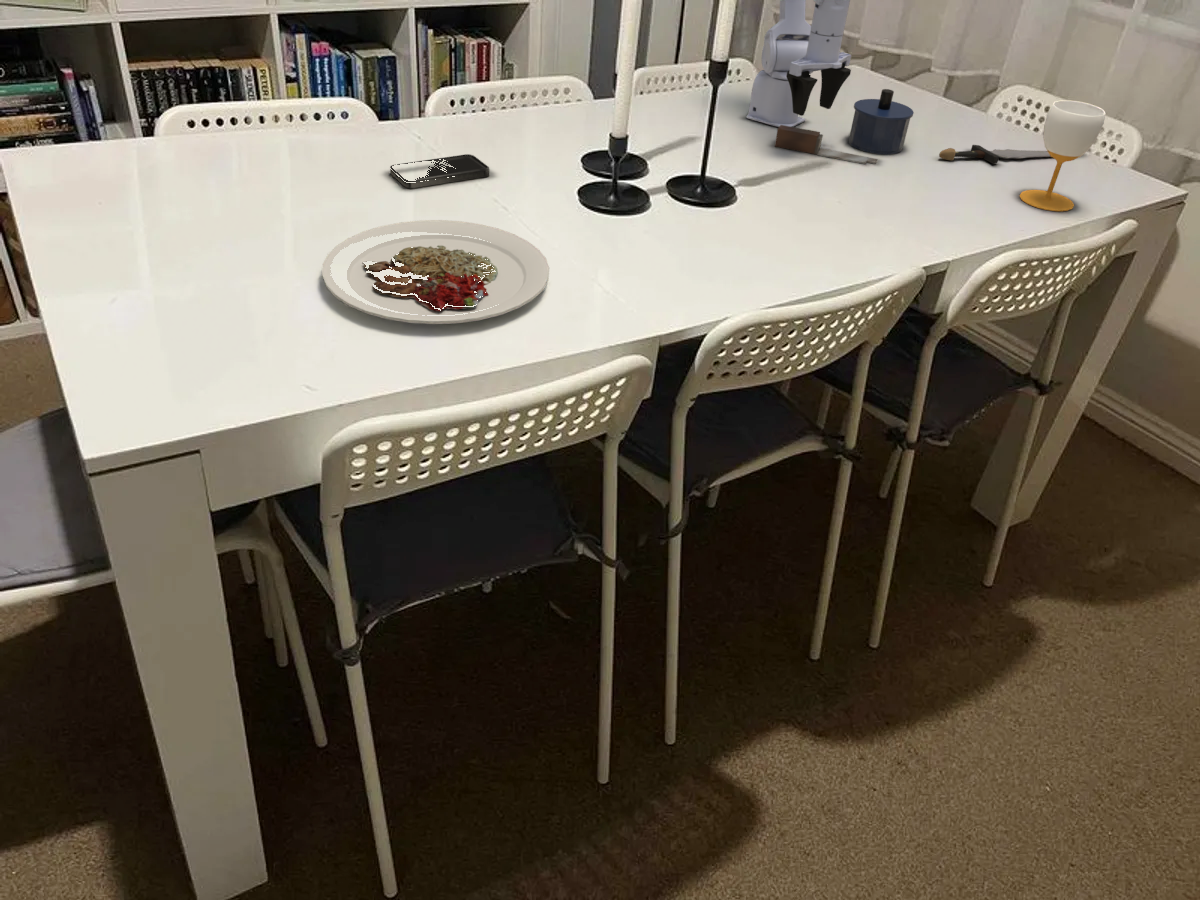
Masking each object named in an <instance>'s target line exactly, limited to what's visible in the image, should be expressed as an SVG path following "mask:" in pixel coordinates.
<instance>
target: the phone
mask: <svg viewBox="0 0 1200 900" xmlns="http://www.w3.org/2000/svg"><path fill="white" fill-rule="evenodd" d="M439 159H441V160H439ZM443 159H444V160H446V161H444V162H446V163H448V164H450V165H451V166H453V167H454V168H453V167H449V166H445V165H443V164H440V165H439V163H440V162H442V161H443ZM432 160H434V161H436V162H438V161H439V162H438V163H436V162H435V164H436V165H435V164H434V165H435V166H437V165H438V166H437V167H438V168H439V169H438V168H437V167H435V166H434V167H435V168H434V167H431V168H432V169H430V168H429V167H430V166H429V167H428V168H429V169H430V170H431V171H430V170H428V171H429V172H428V171H427V172H428V173H429V174H428V173H427V174H428V175H429V176H428V175H426V176H427V177H426V176H425V178H424V177H422V178H420V177H419V179H418V178H417V180H416V179H415V180H416V181H408V180H406V179H404V178H403V177H402V176H401V175H400V174H399V173H398V172H396V171H395V170H394V169H393V168H392V166H394V165H395V164H392V165H390V166H389V172H390V175H391V176H392V177H393V178H394V179H395V180H396V181H397V182H398V183H400V184H401V185H402V186H403V187H404V188H407V189H416V188H422V187H429V186H436V185H442V184H448V183H449V184H450V183H454V182H461V181H467V180H468V181H469V180H473V179H479V178H487V177H489V176H490V167H489V166H488V165H486V163H484V162H483V161H482V160H481V159H479V158H478V157H477V156H475V155H474V154H468V153H466V154H459V155H453V156H444V157H439V158H431V159H424V160H417V161H410V162H403V163H402V164H408V163H413V162H414V163H415V162H422V161H432ZM447 161H448V162H447ZM444 162H443V163H444ZM431 163H432V162H431ZM433 163H434V162H433ZM446 163H445V164H446ZM400 164H401V163H397V165H400ZM448 164H447V165H448ZM441 165H443V166H445V167H446V168H445V167H443V166H441ZM439 166H441V167H443V168H445V169H446V170H447V171H446V170H444V169H443V170H444V171H446V172H447V173H446V172H444V171H442V170H440V169H442V168H441V167H439ZM390 168H391V169H392V170H393V171H394V172H395V173H397V174H398V175H399V176H400V177H401V178H402V179H403V180H404V181H406V182H416V183H406V182H404V181H403V180H402V179H401V178H400V177H398V176H397V175H396V174H395V173H394V172H393V171H392V170H391V169H390ZM455 168H456V169H455ZM452 176H455V177H452ZM447 177H449V178H447ZM435 179H436V180H435ZM425 180H426V181H425ZM427 180H429V181H427ZM420 181H423V182H420Z"/></svg>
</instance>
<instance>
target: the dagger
mask: <svg viewBox="0 0 1200 900" xmlns="http://www.w3.org/2000/svg"><path fill="white" fill-rule="evenodd" d="M938 156H939V158H940V159H943V160H947V161H954V159H955V158H975V159H982V160H985V161H987V162H988V163H990V164H993V165H994V164H997V163H998V162H999V159H1027V158H1049V157H1050V158H1052V157H1051V156H1050V154H1049V153H1048V151H1047V150H1025V149H1024V150H1019V149H1010V148H1008V149H993V150H988V149H986V148H985V147H983V146H981V145H979V144H972V145H971V148H970V150H962V151H957V150H956V149H955V148H952V147H949V148H946V149H942V150H941V151H940V152H939V154H938Z"/></svg>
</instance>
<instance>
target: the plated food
mask: <svg viewBox="0 0 1200 900" xmlns="http://www.w3.org/2000/svg"><path fill="white" fill-rule="evenodd" d="M411 231H412V232H427V233H439V234H441V233H443V234H446V233H447V234H452V235H420V236H411V237H404V238H399V239H394V240H391V241H387V242H384V243H381V244H378V245H376V246H374V247H372V248H369V249H367V250H366V251H364V252H363V253H361V254H360V255H358V256H357V257H356V258H355V259H354V260H353V261H352V262H351V264H350V266H349V268H348V270H347V280H348V282H349V284H350V286H351V288H352V289H353V290H354V291H355V292H356V293H357V294H358V295H359V296H361V297H362V298H364V299H365V300H367V301H369V302H371V303H373V304H376V305H378V306H380V307H383V308H387V309H390V310H394V311H398V312H404V313H410V314H418V315H410V314H402V313H395V312H391V311H388V310H383V309H380V308H379V309H378V308H376V307H373V306H370V305H368V304H367V305H366V304H365V303H363V302H362V301H359V300H357V299H356V298H354V297H352V296H351V295H350V296H349V295H348V294H346V293H345V291H343V289H342V290H341V288H339V286H338V285H336V283H335V282H334V280H333V278H332V276H330V275H331V274H332V273H331V270H330V269H331V267H330V265H331V264H332V263H333V262H332V261H333V259H334V257H335V256H336V255H337V254H338V253H339V252H340V250H342V249H344V247H345V248H346V247H348V246H349V245H350V244H352V243H353V244H354V243H357V242H360V241H363V239H364V240H365V239H367V238H369V237H370V238H371V237H372V236H373V237H376V236H378V237H379V236H380V235H382V236H383V235H385V234H386V235H387V234H393V233H396V234H397V233H398V232H400V233H402V232H411ZM454 235H461V236H454ZM462 236H470V237H473V238H469V237H462ZM475 237H476V238H477V239H474V238H475ZM479 238H480V239H482V240H479ZM483 240H485V241H483ZM487 241H488V242H487ZM490 242H491V243H490ZM411 247H413V248H411ZM398 253H399V254H398ZM469 253H470V254H469ZM396 254H398V255H396ZM471 254H472V255H471ZM474 255H475V256H474ZM392 257H393V258H394V259H395V263H396V262H399V263H402V264H404V266H401V267H398V266H395V264H394V262H393V261H392ZM485 259H486V260H485ZM487 259H488V260H487ZM367 261H372V262H377V263H375V264H373V265H369V268H368V269H367V268H365V267H366V265H365V264H364V263H363V262H367ZM481 263H484V264H486V265H490V264H491V266H488V267H487V269H486V268H484V269H483V267H486V265H484V266H482V267H478V265H480V266H481V265H483V264H481ZM389 266H390V267H392V269H391V268H389ZM492 266H493V267H494V268H493V267H492ZM321 269H322V270H321V277H322V279H324V280H323V283H324V284H325V287H326V289H327V290H328V291H329V292H330V293H331V294H332V295H333V296H334V297H335V298H336V299H338V300H339V301H341V302H342V303H344V304H345V305H347V306H349V307H350V308H352V309H355V310H358V311H360V312H362V313H364V314H367V315H370V316H374V317H378V318H381V319H384V320H390V321H397V322H403V323H409V324H426V325H443V324H444V325H445V324H446V325H447V324H462V323H468V322H469V323H470V322H476V321H482V320H486V319H490V318H495V317H499V316H502V315H505V314H507V313H509V312H513V311H515V310H517V309H520V308H522V307H523V306H525V305H527V304H528V303H530V302H532V301H534V299H536V298H537V296H539V295H540V294H541V293H542V292H543V291H544V289H545V288H546V285H547V284H548V282H549V277H550V265H549V263H548V260H547V258H546V256H545V255H544V254H543V252H542V251H541V250H540V249H539V248H538V247H536V246H535V245H534V244H532V243H531V242H530V241H529V240H526V239H525V238H523V237H521V236H519V235H517V234H515V233H513V232H510V231H506V230H504V229H500V228H497V227H494V226H489V225H486V224H481V223H477V222H476V223H475V222H468V221H461V220H447V219H446V220H443V219H429V220H426V219H425V220H424V219H423V220H422V219H421V220H420V219H419V220H412V221H411V220H410V221H401V222H396V223H390V224H385V225H380V226H376V227H373V228H370V229H367V230H364V231H361V232H359V233H356V234H354V235H352V236H350V237H348V238H346V239H345V240H343V241H341V242H339V243H338V244H337V245H336V246H334V247H333V248H332V249H331V250H330V251H329V252H328V253H327V255H326V257H325V258H324V260H323V263H322V268H321ZM386 269H391V270H393V269H394V270H395V271H399V272H400V273H402V274H405V273H406V274H407V273H409V272H411V273H413V275H415V274H416V275H422V277H425V276H427V275H429V277H427V279H428V280H423V279H412V278H411V276H408V277H402V276H400V277H401V278H396V277H393V276H390V275H389V276H387V275H386V276H387V277H386V276H384V278H385V281H387V282H389V281H390V282H393V281H394V282H401V283H403V282H404V283H405V284H406V283H408V281H409V280H410V279H412V283H408V284H407V285H401V284H395V285H390V284H387V283H385V282H382V281H381V280H380V279H379V278H378V277H374V275H373V274H371V273H366V271H368V270H369V271H372V272H380V271H382V270H386ZM491 269H493V270H491ZM494 270H495V271H496V272H492V271H494ZM483 272H490V273H483ZM491 272H492V273H491ZM330 273H331V274H330ZM486 274H489V275H486ZM472 275H473V276H472ZM483 275H485V277H484V276H483ZM461 276H462V277H461ZM478 276H480V277H481V278H482V277H484V278H483V279H482V280H481V278H480V277H478ZM408 278H409V279H408ZM419 278H421V277H419ZM474 279H475V281H474ZM479 281H481V282H479ZM478 282H479V283H478ZM373 284H374V285H376V287H378V289H381V290H383V291H390V292H396V293H400V294H410V293H413V294H414V293H415V294H417V295H418V298H420V299H421V300H423V301H427V302H429V303H426V302H422V301H419V299H418V298H417V297H416V296H415V295H407V296H401V295H396V294H392V293H382V292H381V291H379V290H377V289H375V288H374V287H373ZM420 285H421V286H420ZM474 291H476V292H477V293H474ZM485 292H486V293H485ZM476 294H477V295H476ZM480 296H481V298H479V297H480ZM482 296H483V297H482ZM477 300H478V301H477ZM430 303H431V304H432V305H433V306H435V308H440V309H441V311H440V310H438V309H434V307H432V305H431V304H430ZM447 303H448V305H453V306H465V305H466V306H473V305H476V304H477V305H476V306H474V307H452V306H446V307H444V306H445V304H447ZM498 304H499V305H498ZM495 305H497V306H495ZM493 306H494V307H493ZM443 307H444V309H442V308H443ZM490 307H492V308H490ZM487 308H489V309H487ZM483 309H486V310H483ZM479 310H483V311H479ZM475 311H478V312H475ZM470 312H475V313H470ZM463 313H468V314H465V315H464V314H463ZM455 314H463V315H455ZM422 315H425V316H422ZM427 315H455V316H427Z"/></svg>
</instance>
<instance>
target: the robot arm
mask: <svg viewBox="0 0 1200 900" xmlns="http://www.w3.org/2000/svg"><path fill="white" fill-rule="evenodd" d="M813 2H814V3H815V4H814V9H813V13H812V20H811V24H810V23H809V22H808V21H807V20H806V7H807V6H806V5H807V0H779V19H778V21H777V22H776V23H775V24H773V25H772V26H771V27H769V29H768V30H767V31H766V32H765V34H764V37H763V45H762V50H761V66H762V70H760V71H758V73H757V74H756V76H755V78H754V80H753V83H752V87H751V88H752V89H751V94H750V100H749V107H748V114H747V115H745V118H746V119H748V120H751V121H755V122H759V123H762V124H765V125H768V126H772V127H775V128H779V127H780V125H784V126H790V127H795V126H798V125H800V124H802V123H804V122H806V118H805V117H801V116H804V115H805V113H806V111H807V107H808V103H809V100H810V97H811V94H812V91H813V89H814V87H815V85H816V84H817V82H818V79H817V78H815V77H812V75H811V74H813V73H814V72H818V71H820V77H821V85H820V87H821V88H820V94H819V107H820V108H821V107H822V108H823V109H826V110H831V109H832V106H833V104H834V103H835V100H836V97H837V96H838V93H839V92H840V90H841V88H842V86H843V85H844V83H845V82H846V81H847V80H848V78H849V77H850V76H851V72H852V69H851V68H848V67H849V66H850V65H851V59H852V54H851V53H847V52H844V51H841V47H842V43H843V37H844V32H845V28H846V23H847V19H848V13H849V8H850V2H851V0H813Z"/></svg>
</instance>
